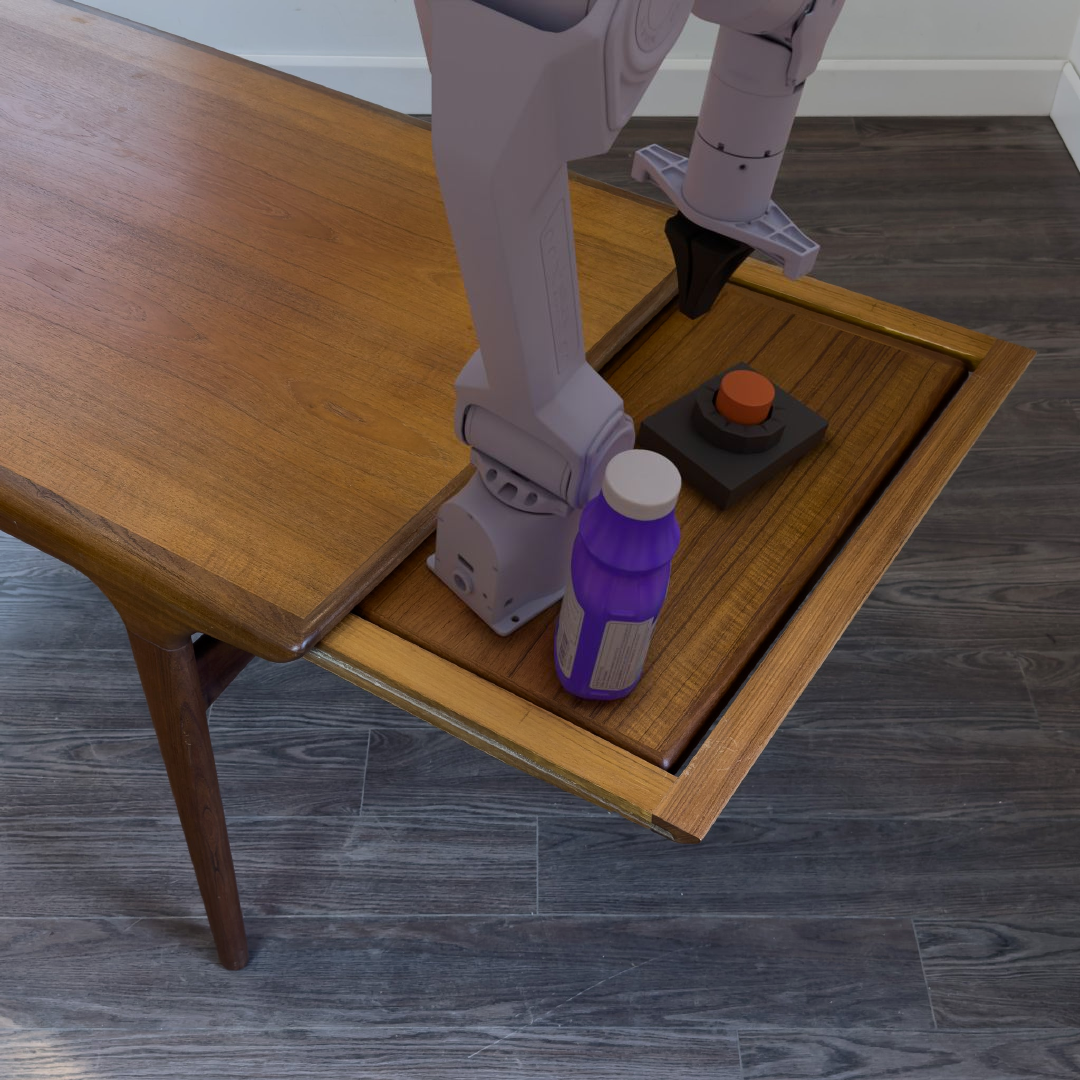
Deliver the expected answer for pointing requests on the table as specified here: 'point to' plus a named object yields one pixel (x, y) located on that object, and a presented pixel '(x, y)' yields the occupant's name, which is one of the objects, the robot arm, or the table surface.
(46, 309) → the table surface
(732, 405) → the push button
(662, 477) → the bottle
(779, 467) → the button base
